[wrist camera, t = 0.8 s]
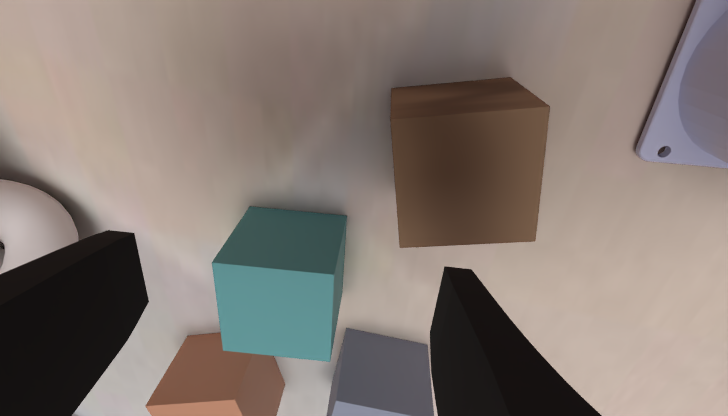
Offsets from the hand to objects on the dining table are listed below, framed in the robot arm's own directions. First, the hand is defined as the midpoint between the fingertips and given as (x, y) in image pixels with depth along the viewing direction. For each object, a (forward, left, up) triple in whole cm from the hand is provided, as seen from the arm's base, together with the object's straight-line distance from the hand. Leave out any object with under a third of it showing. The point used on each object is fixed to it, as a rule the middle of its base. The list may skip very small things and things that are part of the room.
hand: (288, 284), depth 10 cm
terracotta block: (+6, +15, -11) cm, 20 cm away
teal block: (+2, +6, -11) cm, 13 cm away
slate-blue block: (-3, +14, -11) cm, 18 cm away
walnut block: (-5, -1, -11) cm, 12 cm away
